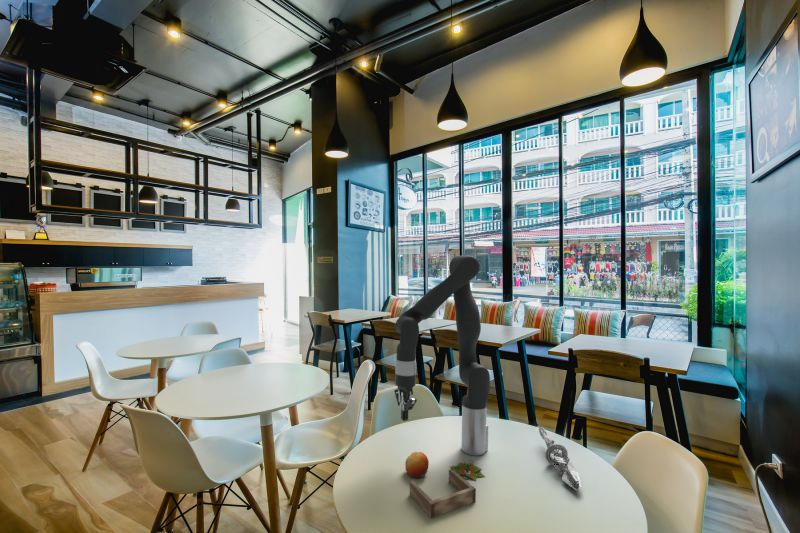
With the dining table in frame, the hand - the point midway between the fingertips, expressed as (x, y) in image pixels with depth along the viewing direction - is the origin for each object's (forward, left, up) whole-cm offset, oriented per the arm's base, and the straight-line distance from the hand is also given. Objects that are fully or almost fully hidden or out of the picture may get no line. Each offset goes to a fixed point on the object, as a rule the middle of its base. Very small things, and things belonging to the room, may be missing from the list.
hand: (404, 419), depth 134 cm
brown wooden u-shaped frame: (0, +24, -15) cm, 28 cm away
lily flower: (-16, +16, -16) cm, 28 cm away
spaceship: (-48, +27, -15) cm, 57 cm away
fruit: (0, +9, -15) cm, 18 cm away
